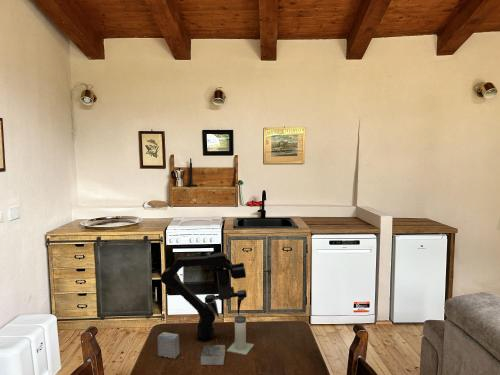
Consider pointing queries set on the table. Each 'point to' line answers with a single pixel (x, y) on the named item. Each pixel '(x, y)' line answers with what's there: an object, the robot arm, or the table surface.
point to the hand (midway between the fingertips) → (228, 315)
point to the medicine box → (168, 345)
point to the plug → (240, 332)
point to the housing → (213, 355)
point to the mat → (244, 351)
